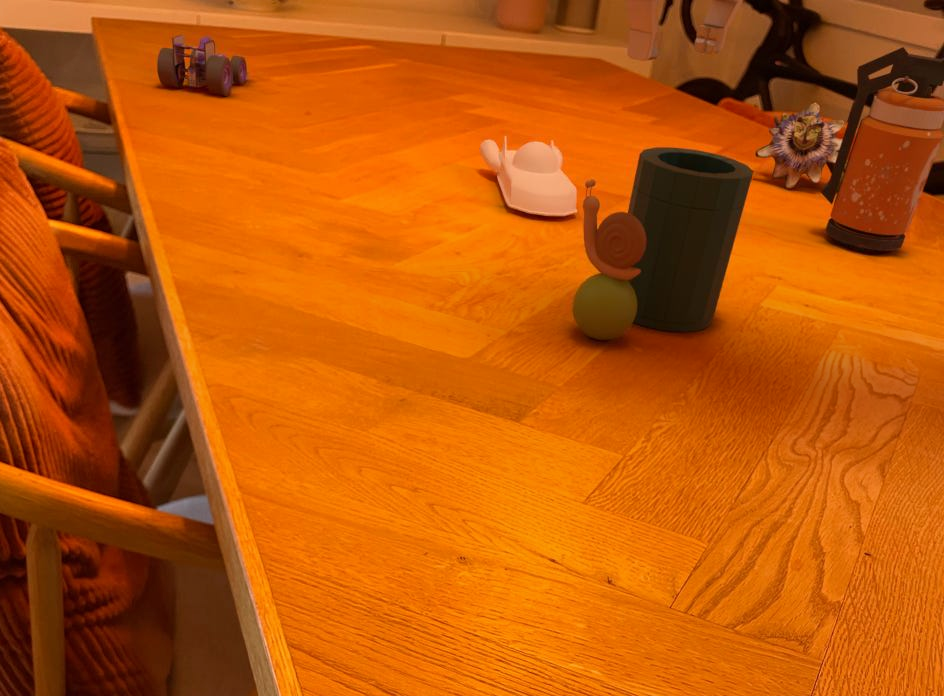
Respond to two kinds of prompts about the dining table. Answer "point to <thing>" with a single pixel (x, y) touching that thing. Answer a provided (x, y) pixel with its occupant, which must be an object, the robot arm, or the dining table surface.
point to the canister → (886, 152)
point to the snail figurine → (608, 271)
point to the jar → (685, 233)
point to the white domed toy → (532, 178)
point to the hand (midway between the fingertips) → (675, 55)
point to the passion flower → (803, 146)
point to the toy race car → (200, 67)
